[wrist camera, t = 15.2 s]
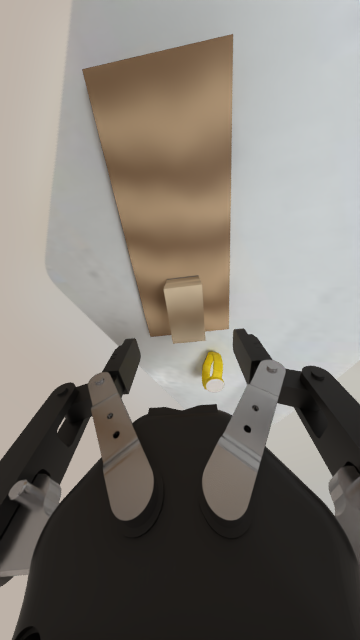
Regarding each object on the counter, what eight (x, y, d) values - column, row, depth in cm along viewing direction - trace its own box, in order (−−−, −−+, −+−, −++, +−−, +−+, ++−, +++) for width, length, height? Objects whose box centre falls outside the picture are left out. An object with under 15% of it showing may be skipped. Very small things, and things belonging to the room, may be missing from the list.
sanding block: (167, 278, 21) (163, 289, 17) (198, 275, 20) (201, 284, 16) (174, 325, 24) (173, 343, 20) (201, 323, 23) (205, 340, 19)
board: (91, 84, 14) (82, 69, 13) (228, 54, 13) (233, 33, 12) (152, 331, 26) (150, 336, 25) (226, 324, 25) (228, 328, 24)
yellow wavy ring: (206, 344, 28) (212, 367, 22) (221, 347, 28) (231, 371, 22) (196, 371, 30) (200, 397, 24) (210, 373, 30) (217, 401, 25)
